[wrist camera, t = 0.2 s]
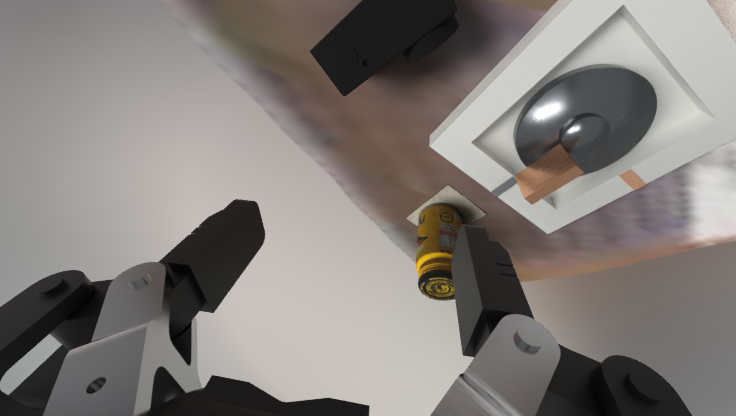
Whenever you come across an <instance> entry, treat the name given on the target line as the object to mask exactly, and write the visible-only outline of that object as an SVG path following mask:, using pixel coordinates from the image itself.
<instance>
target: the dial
mask: <svg viewBox="0 0 736 416" xmlns="http://www.w3.org/2000/svg"><path fill="white" fill-rule="evenodd" d="M656 110H657V96H656V93H655V90H654V88H653V86H652V85H651V83H650V82H649V81H648V80H647V79H646V78H645V77H643V76H641V75H639V74H638V73H636V72H634V71H632V70H630V69H628V68H625V67H623V66H619V65H614V64H595V65H589V66H584V67H580V68H577V69H574V70H571V71H569V72H567V73H564V74H562V75H561V76H559V77H557V78H555V79H553V80H552V81H550V82H549V83H547V84H546V85H545V86H543V87H542V88H541V89H540V90H538V91H537V92H536V93H535V94H534V95H533V96H532V97H531V98H530V100H529V101H528V102H527V103H526V105H525V106H524V107H523V109H522V110H521V112H520V114H519V116H518V118H517V121H516V123H515V127H514V133H513V140H514V146H515V149H516V151H517V153H518V155H519V157H520V160H521V161H522V163H523V164H524V165H525V166H526V168H525V169H523V170H522V171H521V172H519V173H518V174H516V175H515V178H516V180H517V183H518V185H519V188H520V190H521V192H522V195H523V197H524V199H525V200H526V201H528V202H529V203H530V204H532V205H533V204H534V203H536V202H537V201H539V200H541V199H542V198H544V197H546V196H547V195H549V194H551V193H552V192H554V191H556V190H557V189H559V188H561V187H562V186H564V185H565V184H567V183H569V182H570V181H572V180H574V179H575V178H577V177H579V176H583V175H586V174H590V173H593V172H595V171H598V170H600V169H603V168H605V167H607V166H609V165H611V164H612V163H614V162H616V161H617V160H619V159H620V158H622V157H623V156H625V155H626V154H627V153H628V152H630V151H631V150H632V149H633V148H634V147H635V146H636V145H637V144H638V143H639V142H640V141H641V140H642V139H643V137H644V136H645V135H646V133H647V132H648V130H649V128H650V127H651V125H652V123H653V120H654V118H655V115H656Z"/></svg>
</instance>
